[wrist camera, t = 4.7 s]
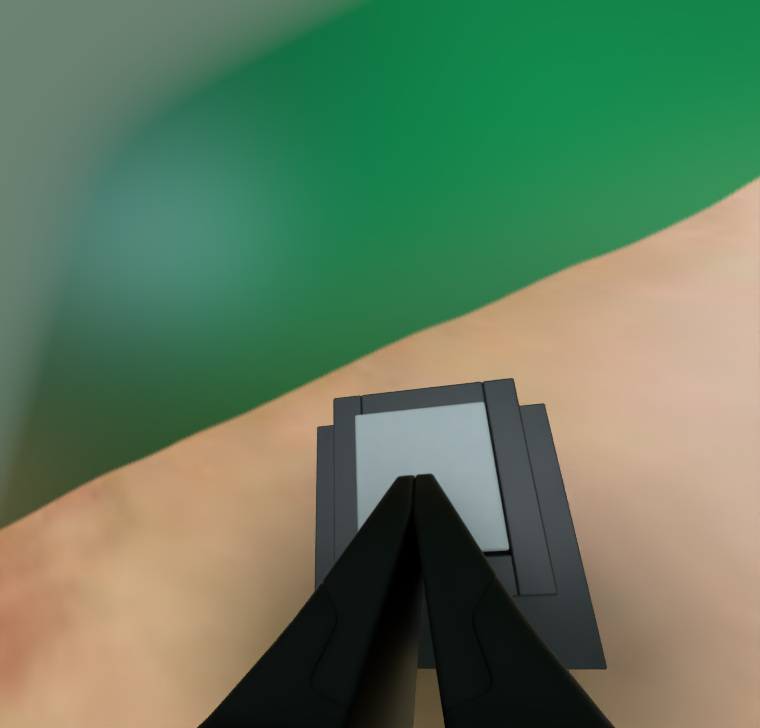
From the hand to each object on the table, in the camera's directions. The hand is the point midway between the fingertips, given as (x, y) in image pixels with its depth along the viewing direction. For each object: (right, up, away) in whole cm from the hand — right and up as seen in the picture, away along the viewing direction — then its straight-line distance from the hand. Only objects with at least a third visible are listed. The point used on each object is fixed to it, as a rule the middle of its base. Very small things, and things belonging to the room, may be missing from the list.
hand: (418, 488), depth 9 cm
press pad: (+1, -1, +5) cm, 5 cm away
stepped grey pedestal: (+2, -5, +9) cm, 11 cm away
